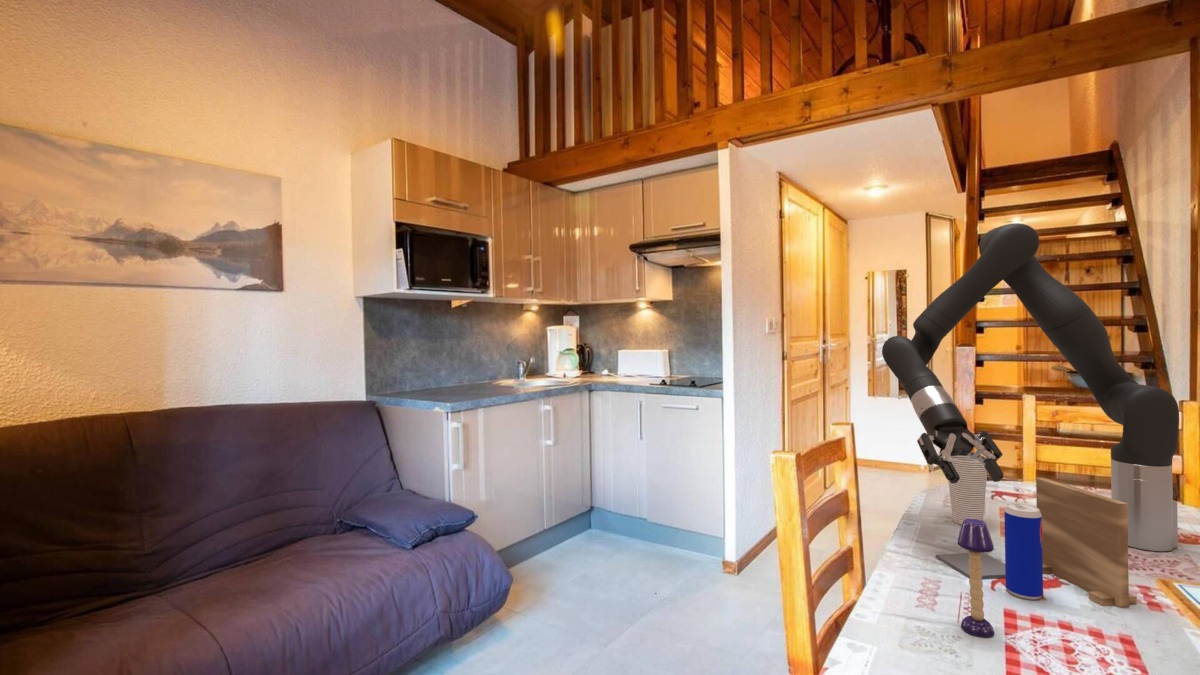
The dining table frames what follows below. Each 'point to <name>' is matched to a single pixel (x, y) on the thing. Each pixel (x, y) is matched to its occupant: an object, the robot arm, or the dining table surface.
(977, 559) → the toy lamp
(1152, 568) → the dining table surface
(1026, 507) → the beverage can
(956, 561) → the felt pad
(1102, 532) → the oak board
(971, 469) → the cup
